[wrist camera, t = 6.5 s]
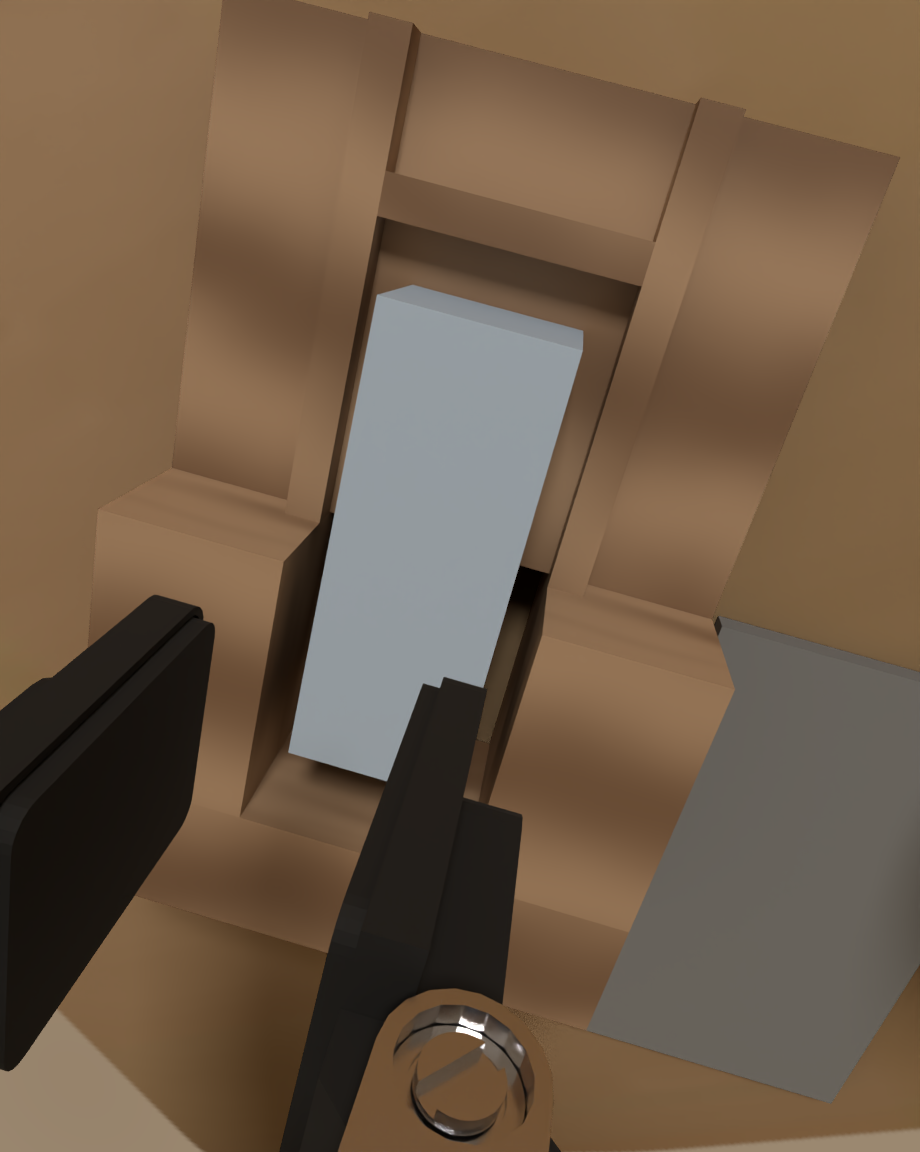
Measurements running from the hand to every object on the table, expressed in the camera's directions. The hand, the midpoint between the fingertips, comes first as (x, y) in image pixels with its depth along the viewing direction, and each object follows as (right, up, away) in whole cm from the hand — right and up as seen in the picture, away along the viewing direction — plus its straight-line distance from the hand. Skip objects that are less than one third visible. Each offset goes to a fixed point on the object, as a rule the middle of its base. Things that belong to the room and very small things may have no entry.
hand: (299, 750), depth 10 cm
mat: (+13, -9, +20) cm, 26 cm away
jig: (+2, +4, +17) cm, 17 cm away
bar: (+2, +4, +14) cm, 14 cm away
